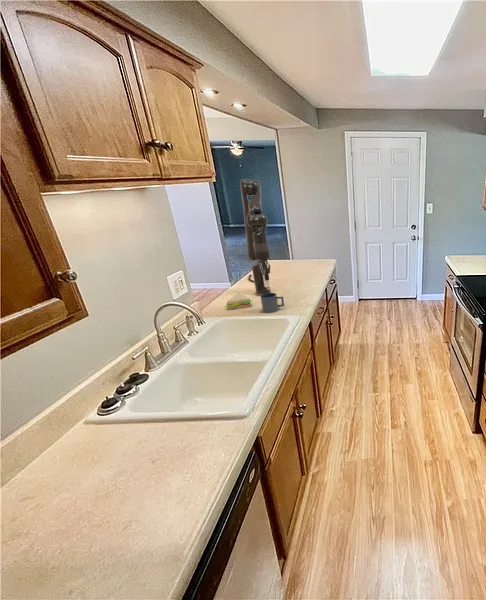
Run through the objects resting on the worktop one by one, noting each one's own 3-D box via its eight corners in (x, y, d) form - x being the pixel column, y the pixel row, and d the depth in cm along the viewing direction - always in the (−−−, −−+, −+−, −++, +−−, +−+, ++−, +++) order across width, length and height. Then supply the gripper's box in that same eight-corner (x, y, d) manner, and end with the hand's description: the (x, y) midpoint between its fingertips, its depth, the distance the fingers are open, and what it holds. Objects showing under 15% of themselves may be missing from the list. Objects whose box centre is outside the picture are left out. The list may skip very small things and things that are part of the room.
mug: (261, 313, 194) (259, 298, 191) (264, 307, 203) (262, 293, 199) (283, 311, 197) (281, 296, 193) (285, 306, 205) (283, 292, 202)
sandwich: (256, 297, 220) (255, 290, 218) (251, 308, 202) (250, 300, 200) (231, 299, 216) (230, 292, 215) (224, 310, 199) (222, 302, 197)
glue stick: (263, 286, 194) (261, 271, 191) (268, 285, 196) (266, 270, 193) (265, 287, 192) (263, 272, 189) (270, 286, 194) (268, 271, 191)
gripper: (272, 251, 184) (277, 280, 190) (263, 247, 194) (267, 275, 200) (259, 253, 179) (264, 283, 185) (250, 249, 189) (255, 278, 195)
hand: (266, 279), depth 192 cm, fingers closed on glue stick, 3 cm apart
